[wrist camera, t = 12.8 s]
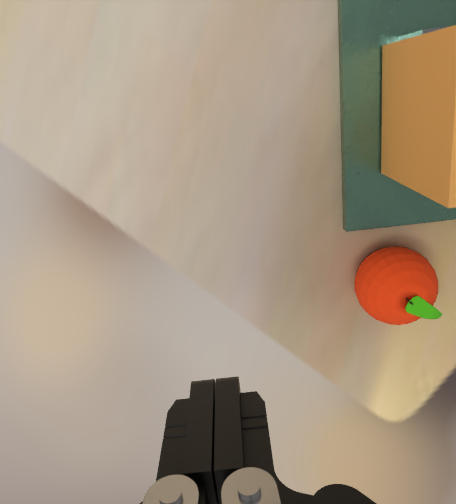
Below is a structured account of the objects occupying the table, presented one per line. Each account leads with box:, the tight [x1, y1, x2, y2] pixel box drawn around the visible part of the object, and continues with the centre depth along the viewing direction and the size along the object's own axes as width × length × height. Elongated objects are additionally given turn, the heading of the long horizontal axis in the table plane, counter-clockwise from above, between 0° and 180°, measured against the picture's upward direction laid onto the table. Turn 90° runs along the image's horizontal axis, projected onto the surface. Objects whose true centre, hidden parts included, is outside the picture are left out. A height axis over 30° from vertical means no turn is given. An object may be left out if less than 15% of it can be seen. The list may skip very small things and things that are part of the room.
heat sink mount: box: [338, 0, 456, 232], centre depth 32 cm, size 20×14×11 cm
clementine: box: [355, 246, 442, 325], centre depth 39 cm, size 8×7×7 cm
